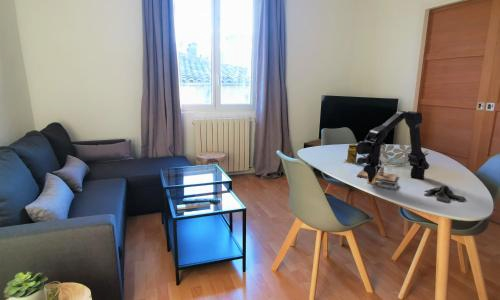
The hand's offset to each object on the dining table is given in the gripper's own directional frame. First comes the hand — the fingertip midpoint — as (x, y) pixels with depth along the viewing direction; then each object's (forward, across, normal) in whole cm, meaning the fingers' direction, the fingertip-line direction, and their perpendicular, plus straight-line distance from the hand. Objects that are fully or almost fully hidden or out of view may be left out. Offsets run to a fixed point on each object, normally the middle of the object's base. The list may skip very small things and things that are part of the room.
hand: (371, 180), depth 167 cm
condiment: (+2, -38, -22) cm, 44 cm away
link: (+2, 0, +6) cm, 6 cm away
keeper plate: (+2, -14, 0) cm, 14 cm away
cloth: (+2, 0, +33) cm, 33 cm away
